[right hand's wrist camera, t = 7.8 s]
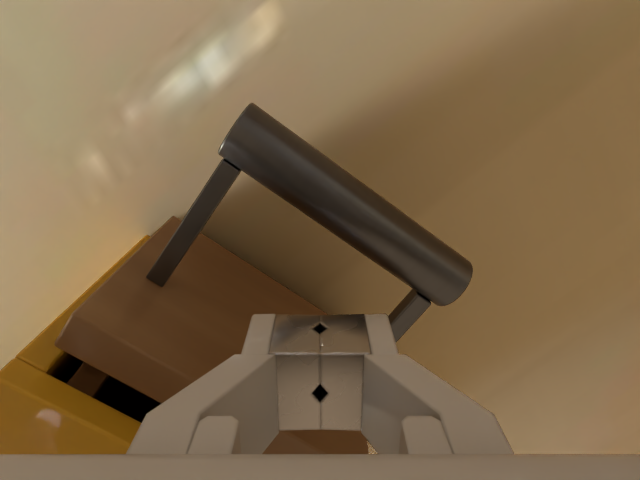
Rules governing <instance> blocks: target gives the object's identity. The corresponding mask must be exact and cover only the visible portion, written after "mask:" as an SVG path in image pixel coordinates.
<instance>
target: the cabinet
mask: <svg viewBox="0 0 640 480" xmlns="http://www.w3.org/2000/svg"><path fill="white" fill-rule="evenodd" d="M149 238H150V236H148V235H146V236H144V237H143V238H142V239H141V240H140V241H139V242H138V243H137V244H136V245H135V246H134V247H133V248H132V249H131V250H129V251H128V252H127V253H126V254H125V255H124V256H123V257H122V258H121V259H120V260H119V261H118V262H117V263H115V264H114V265H113V266H112V267H111V268H110V269H109V270H108V271H107V272H106V273H105V274H104V275H103V276H101V277H100V278H99V279H98V280H97V281H96V282H95V283H94V284H93V285H92V286H91V287H90V288H89V289H87V290H86V291H85V292H84V293H83V294H82V295H81V296H80V297H79V298H78V299H77V300H76V301H75V302H73V303H72V304H71V305H70V306H69V307H68V308H67V309H66V310H65V311H64V312H63V313H62V314H61V315H59V316H58V317H57V318H56V319H55V320H54V321H53V322H52V323H51V324H50V325H49V326H48V327H47V328H45V329H44V330H43V331H42V332H41V333H40V334H39V335H38V336H37V337H36V338H35V339H34V340H33V341H31V342H30V343H29V344H28V345H27V346H26V347H25V348H24V349H23V350H22V351H21V352H20V353H19V354H17V355H16V357H15V358H14V359H13V360H11V361H10V362H9V363H8V364H7V365H6V366H5V367H4V368H2V369H1V370H0V454H126V452H127V450H128V448H129V447H130V445H131V443H132V441H133V439H134V437H135V435H136V433H137V431H138V429H139V427H140V425H141V422H139V421H137V420H135V419H133V418H131V417H129V416H127V415H125V414H123V413H121V412H119V411H118V410H116V409H114V408H112V407H110V406H108V405H106V404H104V403H102V402H100V401H98V400H96V399H95V398H93V397H91V396H89V395H87V394H85V393H83V392H81V391H79V390H77V389H75V388H73V387H72V386H70V385H68V384H66V383H67V382H68V381H69V380H70V378H71V377H72V376H73V375H74V373H75V372H76V371H77V370H78V369H79V367H80V366H81V365H82V364H83V361H81V360H80V359H78V358H76V357H74V356H72V355H70V354H68V353H67V352H65V351H63V350H61V349H59V348H57V347H56V346H55V345H54V343H55V340H56V339H57V337H58V335H59V334H60V332H61V331H62V329H63V327H64V326H65V324H66V322H67V321H68V319H69V317H70V316H71V314H72V313H73V312H74V311H75V310H76V309H77V308H78V307H79V306H80V305H81V304H82V303H83V302H84V301H85V300H86V299H87V298H88V297H89V296H90V295H91V294H92V293H93V292H94V291H95V290H96V289H97V288H99V287H100V286H101V285H102V284H103V283H104V282H105V281H106V280H107V279H108V278H109V277H110V276H111V275H112V274H113V273H114V272H115V271H116V270H117V269H118V268H119V267H120V266H121V265H122V264H123V263H124V262H125V261H126V260H127V259H129V258H130V257H131V256H132V255H133V254H134V253H135V252H136V251H137V250H138V249H139V248H140V247H141V246H142V245H143V244H144V243H145V242H146V241H147V240H148V239H149Z"/></svg>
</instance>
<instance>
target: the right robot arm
mask: <svg viewBox="0 0 640 480" xmlns="http://www.w3.org/2000/svg"><path fill="white" fill-rule="evenodd" d="M319 429H320V430H356V431H361V433H362V434H363V435H364V437H365V438H366V439H367V440H368V442H369V443H370V444H371V445H372V447H373V448H374V449H375V450H376V452H377V453H378V454H262V453H263V452H264V451H265V450H266V448H267V447H268V446H269V445H270V443H271V442H272V441H273V440H274V438H275V437H276V436H277V435H278V433H279V431H284V430H319ZM0 480H640V454H514V452H513V450H512V448H511V446H510V445H509V443H508V441H507V439H506V437H505V435H504V433H503V431H502V429H501V427H500V425H499V423H498V421H497V419H496V417H495V415H494V414H493V413H491V412H490V411H488V410H487V409H485V408H484V407H482V406H481V405H479V404H478V403H476V402H475V401H473V400H472V399H471V398H469V397H468V396H466V395H465V394H463V393H462V392H460V391H459V390H457V389H456V388H454V387H453V386H451V385H450V384H448V383H447V382H445V381H444V380H442V379H441V378H440V377H438V376H437V375H435V374H434V373H432V372H431V371H429V370H428V369H426V368H425V367H423V366H422V365H420V364H419V363H417V362H416V361H414V360H413V359H411V358H410V357H408V356H407V355H406V354H399V353H398V349H397V346H396V342H395V339H394V335H393V332H392V329H391V325H390V322H389V318H388V315H387V314H351V315H296V314H277V315H276V314H254V315H253V316H252V318H251V321H250V325H249V328H248V332H247V335H246V339H245V342H244V346H243V349H242V353H241V354H234V355H233V356H232V357H230V358H229V359H227V360H226V361H224V362H223V363H221V364H220V365H218V366H217V367H215V368H214V369H212V370H211V371H209V372H208V373H206V374H205V375H203V376H202V377H200V378H199V379H197V380H196V381H194V382H193V383H191V384H190V385H188V386H187V387H186V388H184V389H183V390H181V391H180V392H178V393H177V394H175V395H174V396H172V397H171V398H169V399H168V400H166V401H165V402H163V403H162V404H160V405H159V406H157V407H156V408H154V409H153V410H151V411H150V412H148V413H147V414H146V416H145V418H144V420H143V422H142V423H141V425H140V427H139V429H138V431H137V433H136V435H135V437H134V439H133V441H132V443H131V445H130V447H129V448H128V450H127V452H126V454H0Z"/></svg>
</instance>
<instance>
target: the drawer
mask: <svg viewBox="0 0 640 480" xmlns="http://www.w3.org/2000/svg"><path fill="white" fill-rule="evenodd" d="M218 154H219V155H220V156H222V157H223V159H222V160H221V162H220V163H219V165H218V167H217V168H216V170H215V171H214V173H213V174H212V176H211V177H210V179H209V180H208V182H207V183H206V185H205V186H204V188H203V190H202V191H201V193H200V194H199V196H198V197H197V199H196V200H195V202H194V203H193V205H192V206H191V208H190V210H189V211H188V213H187V214H186V216H185V217H184V219H183V220H182V221H181V220H180V219H178V218H177V217H175V216H172V217H171V218H170V219H169V220H168V221H167V222H166V223H165V224H164V225H163V226H162V227H161V228H160V229H159V230H158V231H156V232H155V233H154V234H153V235H152V236H151V237H150V238H149V239H148V240H147V241H146V242H145V243H144V244H143V245H142V246H141V247H140V248H139V249H138V250H137V251H136V252H135V253H134V254H133V255H132V256H131V257H130V258H129V259H127V260H126V261H125V262H124V263H123V264H122V265H121V266H120V267H119V268H118V269H117V270H116V271H115V272H114V273H113V274H112V275H111V276H110V277H109V278H108V279H107V280H106V281H105V282H104V283H103V284H102V285H101V286H100V287H99V288H97V289H96V290H95V291H94V292H93V293H92V294H91V295H90V296H89V297H88V298H87V299H86V300H85V301H84V302H83V303H82V304H81V305H80V306H79V307H78V308H77V309H76V310H75V311H74V312H73V313H72V314H71V316H70V317H69V319H68V321H67V322H66V324H65V326H64V327H63V329H62V331H61V332H60V334H59V335H58V337H57V339H56V340H55V343H54V345H55V346H56V347H57V348H59V349H61V350H63V351H65V352H67V353H68V354H70V355H72V356H74V357H76V358H78V359H80V360H81V361H83V364H82V365H81V366H80V367H79V369H78V370H77V371H76V372H75V373H74V375H73V376H72V377H71V378H70V380H69V381H68V382H67V383H66V384H68V385H70V386H72V387H73V388H75V389H77V390H79V391H81V392H83V393H85V394H87V395H89V396H91V397H93V398H95V399H96V400H98V401H100V402H102V403H104V404H106V405H108V406H110V407H112V408H114V409H116V410H118V411H119V412H121V413H123V414H125V415H127V416H129V417H131V418H133V419H135V420H137V421H139V422H141V423H142V422H143V420H144V418H145V416H146V414H147V413H148V412H150V411H151V410H153V409H154V408H156V407H157V406H159V405H160V404H162V403H163V402H165V401H166V400H168V399H169V398H171V397H172V396H174V395H175V394H177V393H178V392H180V391H181V390H183V389H184V388H186V387H187V386H188V385H190V384H191V383H193V382H194V381H196V380H197V379H199V378H200V377H202V376H203V375H205V374H206V373H208V372H209V371H211V370H212V369H214V368H215V367H217V366H218V365H220V364H221V363H223V362H224V361H226V360H227V359H229V358H230V357H232V356H233V355H234V354H241V353H242V349H243V346H244V342H245V339H246V335H247V332H248V328H249V325H250V321H251V318H252V316H253V315H254V314H276V315H277V314H296V315H328V314H326V313H325V312H323V311H322V310H320V309H319V308H317V307H315V306H314V305H312V304H311V303H309V302H308V301H306V300H304V299H303V298H301V297H300V296H298V295H297V294H295V293H294V292H292V291H290V290H289V289H287V288H286V287H284V286H283V285H281V284H280V283H278V282H276V281H275V280H273V279H272V278H270V277H269V276H267V275H266V274H264V273H262V272H261V271H259V270H258V269H256V268H255V267H253V266H251V265H250V264H248V263H247V262H245V261H244V260H242V259H241V258H239V257H237V256H236V255H234V254H233V253H231V252H230V251H228V250H227V249H225V248H223V247H222V246H220V245H219V244H217V243H216V242H214V241H213V240H211V239H209V238H208V237H206V236H205V235H203V234H202V233H200V232H201V230H202V229H203V227H204V226H205V224H206V223H207V221H208V220H209V218H210V217H211V215H212V214H213V212H214V211H215V209H216V208H217V206H218V205H219V203H220V202H221V200H222V199H223V197H224V196H225V194H226V193H227V191H228V190H229V188H230V187H231V185H232V184H233V182H234V181H235V179H236V178H237V176H238V175H239V174H240V172H241V171H243V172H245V173H246V174H248V175H249V176H251V177H252V178H254V179H255V180H257V181H258V182H259V183H261V184H262V185H264V186H265V187H267V188H268V189H270V190H271V191H272V192H274V193H275V194H277V195H278V196H280V197H281V198H283V199H284V200H285V201H287V202H288V203H290V204H291V205H293V206H294V207H296V208H297V209H299V210H300V211H301V212H303V213H304V214H306V215H307V216H309V217H310V218H312V219H313V220H314V221H316V222H317V223H319V224H320V225H322V226H323V227H325V228H326V229H327V230H329V231H330V232H332V233H333V234H335V235H336V236H338V237H339V238H341V239H342V240H343V241H345V242H346V243H348V244H349V245H351V246H352V247H354V248H355V249H356V250H358V251H359V252H361V253H362V254H364V255H365V256H367V257H368V258H369V259H371V260H372V261H374V262H375V263H377V264H378V265H380V266H381V267H383V268H384V269H385V270H387V271H388V272H390V273H391V274H393V275H394V276H396V277H397V278H398V279H400V280H401V281H403V282H404V283H406V284H407V285H409V286H410V287H411V288H413V289H412V290H411V291H410V292H409V293H408V295H407V296H406V297H405V298H404V299H403V300H402V301H401V302H400V304H399V305H398V306H397V307H396V308H395V309H394V310H393V311H392V313H391V314H390V315H389V316H388V318H389V322H390V325H391V329H392V332H393V335H394V339H395V342H397V341H398V340H399V339H400V337H401V336H402V335H403V334H404V333H405V332H406V331H407V330H408V329H409V328H410V327H411V326H412V324H413V323H414V322H415V321H416V320H417V319H418V318H419V317H420V316H421V315H422V314H423V312H424V311H425V310H426V309H427V308H428V307H429V306H430V305H431V302H430V301H432V302H433V303H435V304H436V305H439V306H445V305H448V304H450V303H452V302H454V301H455V300H456V299H457V298H458V297H459V296H460V295H461V294H462V293H463V292H464V291H465V289H466V288H467V286H468V284H469V282H470V280H471V277H472V272H473V268H472V265H471V263H470V262H469V261H468V260H467V259H465V258H464V257H463V256H461V255H460V254H459V253H457V252H456V251H454V250H453V249H452V248H450V247H449V246H448V245H446V244H445V243H444V242H442V241H441V240H439V239H438V238H437V237H435V236H434V235H433V234H431V233H430V232H429V231H427V230H426V229H424V228H423V227H422V226H420V225H419V224H418V223H416V222H415V221H413V220H412V219H411V218H409V217H408V216H407V215H405V214H404V213H403V212H401V211H400V210H398V209H397V208H396V207H394V206H393V205H392V204H390V203H389V202H388V201H386V200H385V199H383V198H382V197H381V196H379V195H378V194H377V193H375V192H374V191H373V190H371V189H370V188H368V187H367V186H366V185H364V184H363V183H362V182H360V181H359V180H358V179H356V178H355V177H353V176H352V175H351V174H349V173H348V172H347V171H345V170H344V169H342V168H341V167H340V166H338V165H337V164H336V163H334V162H333V161H332V160H330V159H329V158H327V157H326V156H325V155H323V154H322V153H321V152H319V151H318V150H317V149H315V148H314V147H312V146H311V145H310V144H308V143H307V142H306V141H304V140H303V139H302V138H300V137H299V136H297V135H296V134H295V133H293V132H292V131H291V130H289V129H288V128H286V127H285V126H284V125H282V124H281V123H280V122H278V121H277V120H276V119H274V118H273V117H271V116H270V115H269V114H267V113H266V112H265V111H263V110H262V109H261V108H259V107H258V106H256V105H255V104H254V103H251V104H249V105H248V106H247V107H246V108H245V110H244V111H243V112H242V113H241V115H240V116H239V118H238V119H237V120H236V122H235V123H234V125H233V126H232V128H231V129H230V131H229V132H228V134H227V135H226V137H225V139H224V140H223V142H222V144H221V146H220V148H219V150H218ZM262 454H369V453H368V445H367V439H366V438H365V437H364V435H363V434H362V433H361V431H356V430H320V429H319V430H284V431H279V433H278V435H277V436H276V437H275V438H274V440H273V441H272V442H271V443H270V445H269V446H268V447H267V448H266V450H265V451H264V452H263V453H262Z"/></svg>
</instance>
